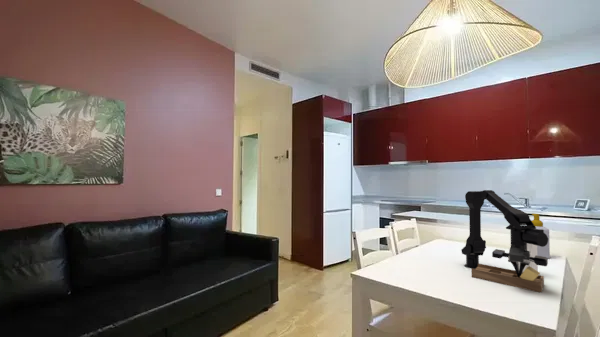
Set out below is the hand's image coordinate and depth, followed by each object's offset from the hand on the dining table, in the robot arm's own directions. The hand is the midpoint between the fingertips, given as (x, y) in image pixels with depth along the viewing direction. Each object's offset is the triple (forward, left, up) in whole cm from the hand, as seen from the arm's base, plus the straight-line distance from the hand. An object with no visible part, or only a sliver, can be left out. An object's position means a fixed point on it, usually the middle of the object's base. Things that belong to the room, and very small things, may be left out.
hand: (519, 277), depth 123 cm
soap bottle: (-65, +1, -4) cm, 65 cm away
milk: (-22, +1, -4) cm, 22 cm away
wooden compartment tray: (-3, -5, -4) cm, 7 cm away
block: (0, +3, 0) cm, 3 cm away
